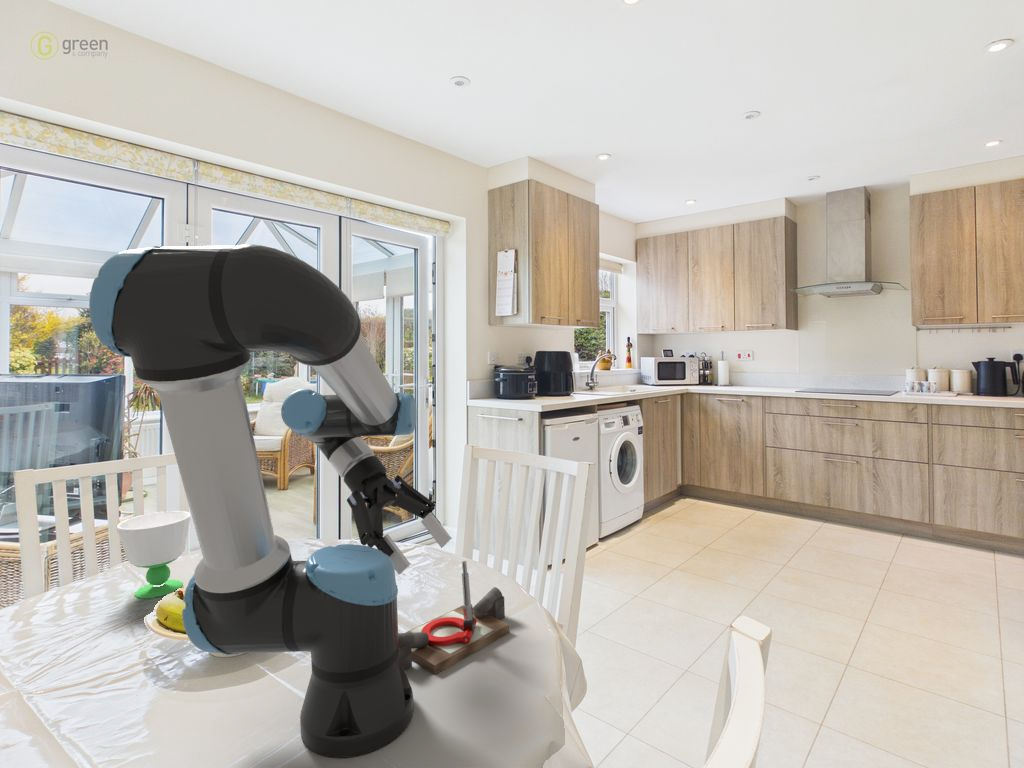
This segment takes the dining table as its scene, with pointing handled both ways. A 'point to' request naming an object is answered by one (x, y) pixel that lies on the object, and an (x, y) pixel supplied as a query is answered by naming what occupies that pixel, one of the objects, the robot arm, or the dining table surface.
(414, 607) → the dining table surface
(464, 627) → the tow hook
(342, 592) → the robot arm
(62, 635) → the dining table surface
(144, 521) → the cup
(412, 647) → the shaft stand
